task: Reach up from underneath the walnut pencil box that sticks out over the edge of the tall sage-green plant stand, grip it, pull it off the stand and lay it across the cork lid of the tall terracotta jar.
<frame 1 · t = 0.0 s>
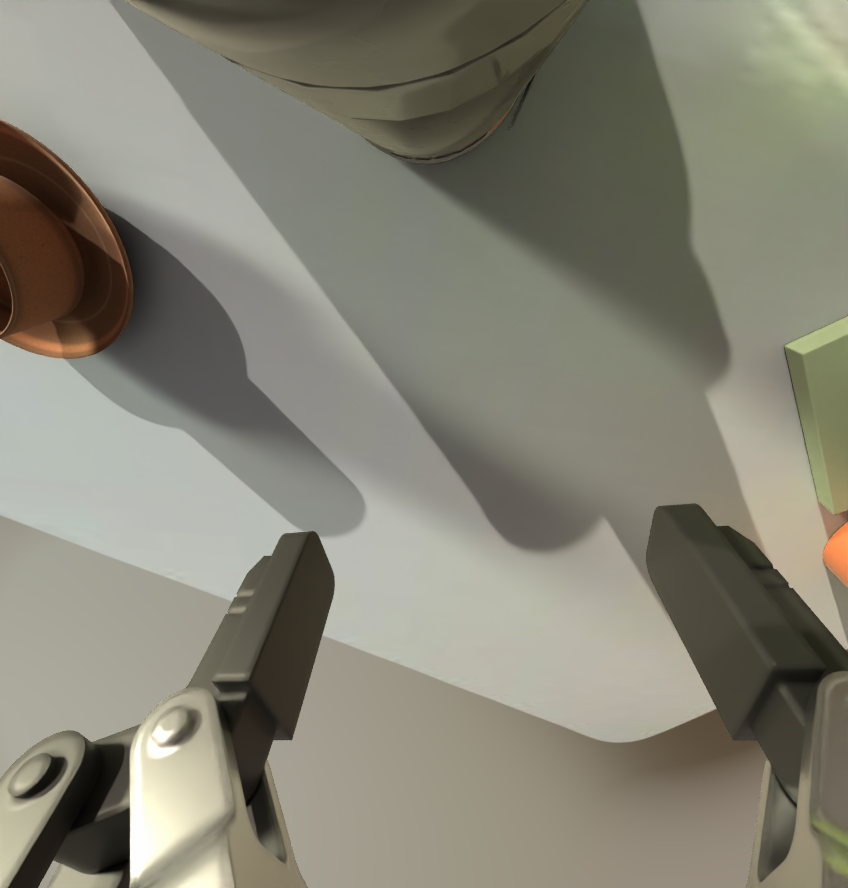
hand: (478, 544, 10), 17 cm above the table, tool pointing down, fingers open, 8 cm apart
cup and saucer: (45, 245, 23), on the table
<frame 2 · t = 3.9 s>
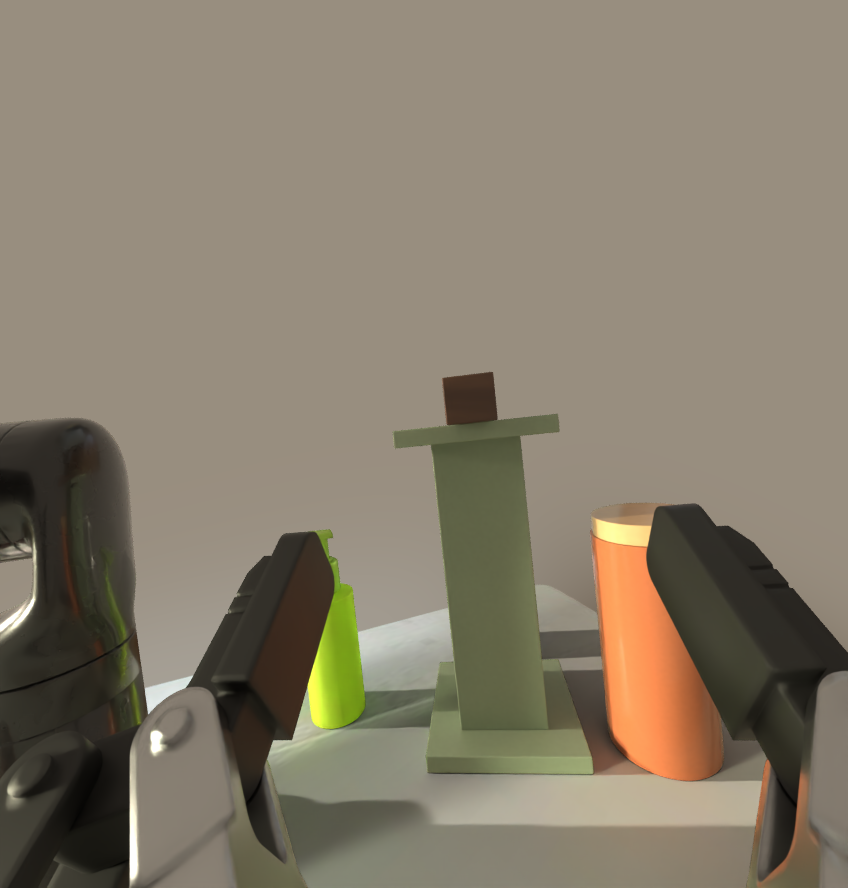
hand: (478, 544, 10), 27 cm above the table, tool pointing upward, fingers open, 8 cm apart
plant stand: (503, 714, 41), on the table
soap dispenser: (334, 712, 44), on the table
terracotta jar: (662, 737, 36), on the table
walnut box: (473, 422, 37), point 30 cm above the table, touching plant stand
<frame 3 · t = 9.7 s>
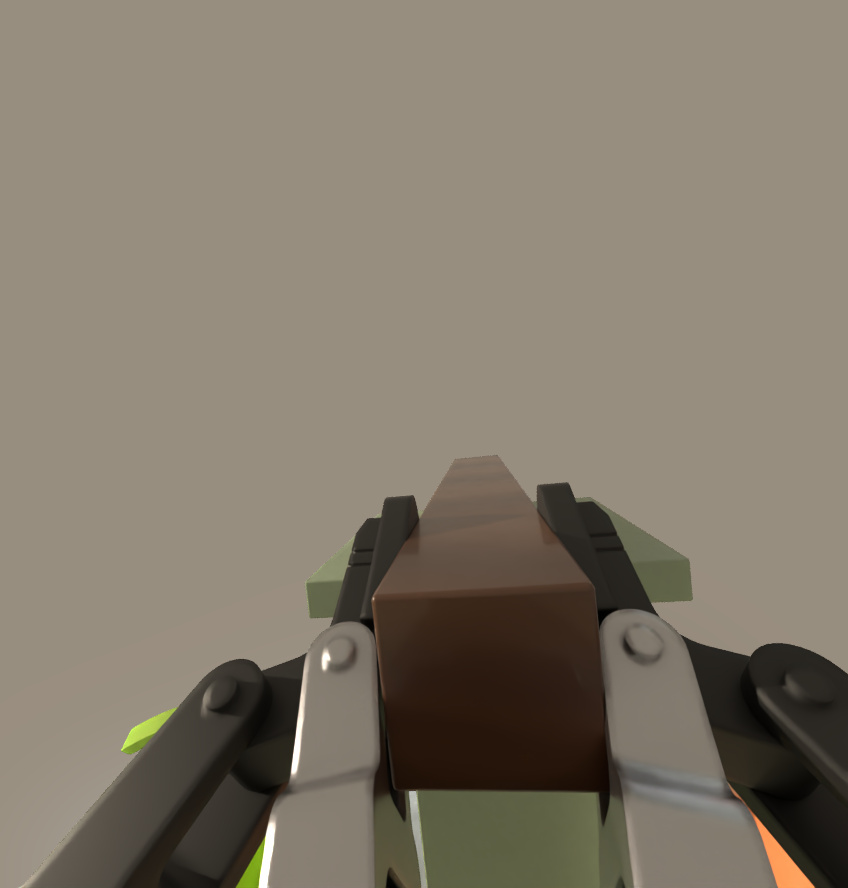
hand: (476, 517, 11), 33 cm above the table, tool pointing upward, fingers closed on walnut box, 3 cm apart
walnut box: (483, 546, 18), point 30 cm above the table, touching gripper, plant stand
when the fingers open (23 cm above the table, at t = 20.7 s): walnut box stays where it is, resting on terracotta jar.
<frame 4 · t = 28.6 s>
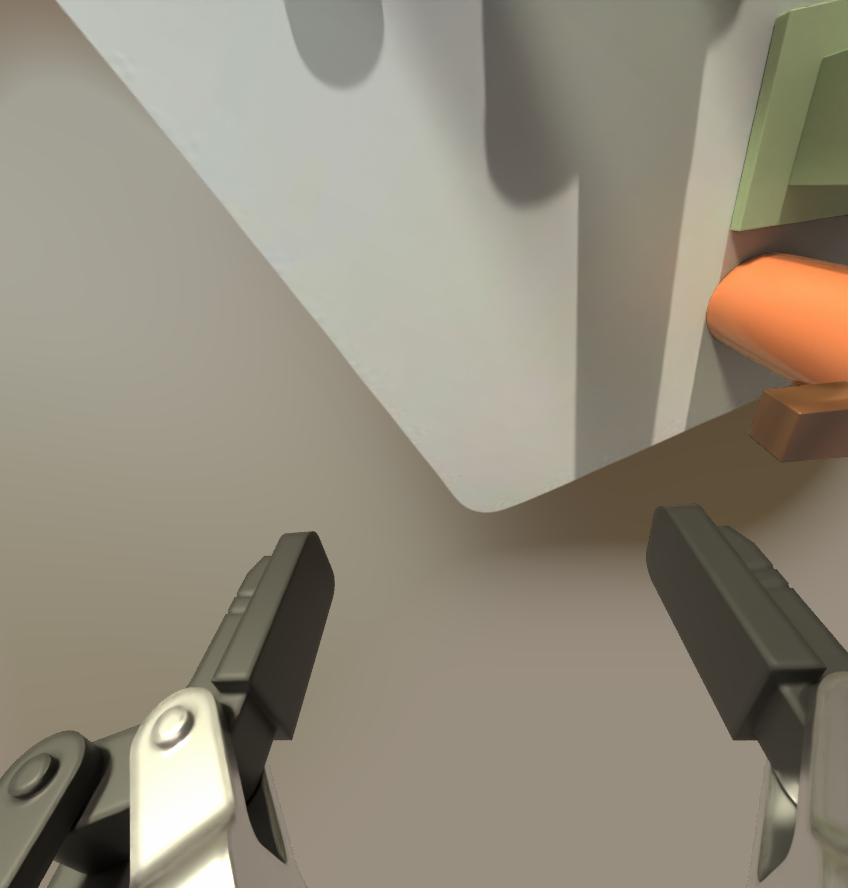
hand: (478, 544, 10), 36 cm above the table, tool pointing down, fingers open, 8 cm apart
plant stand: (845, 118, 32), on the table
terracotta jar: (755, 301, 40), on the table
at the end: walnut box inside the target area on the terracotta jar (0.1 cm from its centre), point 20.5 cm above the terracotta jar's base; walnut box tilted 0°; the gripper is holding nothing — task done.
